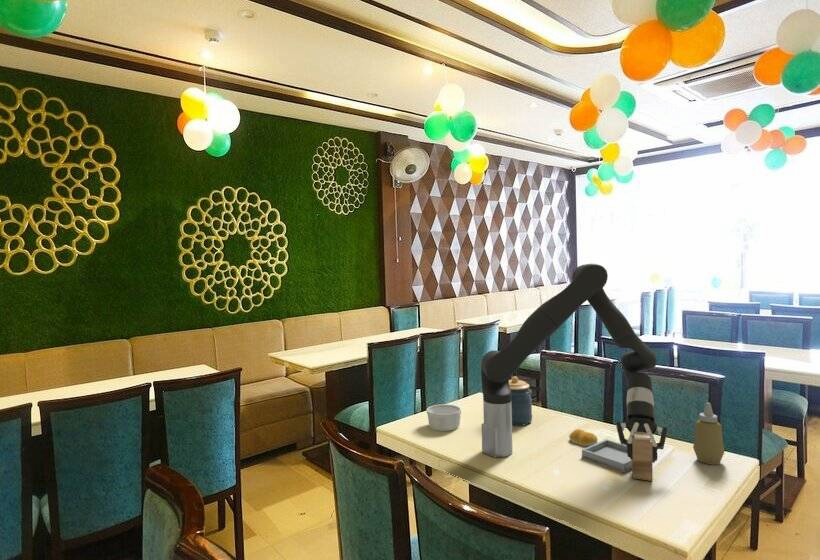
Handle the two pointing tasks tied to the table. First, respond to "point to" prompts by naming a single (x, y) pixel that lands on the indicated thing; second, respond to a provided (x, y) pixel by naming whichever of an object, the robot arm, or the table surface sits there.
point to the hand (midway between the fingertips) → (642, 459)
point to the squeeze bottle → (708, 438)
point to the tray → (609, 455)
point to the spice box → (642, 456)
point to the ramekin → (444, 417)
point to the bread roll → (583, 438)
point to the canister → (520, 401)
